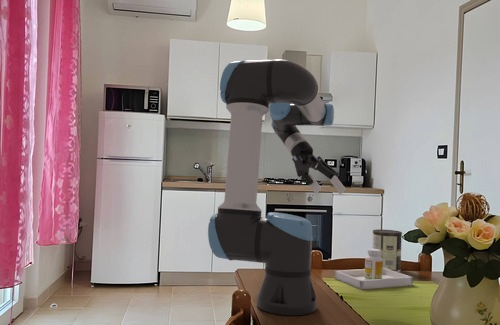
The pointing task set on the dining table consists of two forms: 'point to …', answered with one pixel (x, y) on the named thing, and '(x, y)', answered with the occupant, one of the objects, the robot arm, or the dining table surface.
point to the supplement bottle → (373, 265)
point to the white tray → (359, 281)
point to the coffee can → (388, 248)
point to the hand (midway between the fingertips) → (331, 191)
